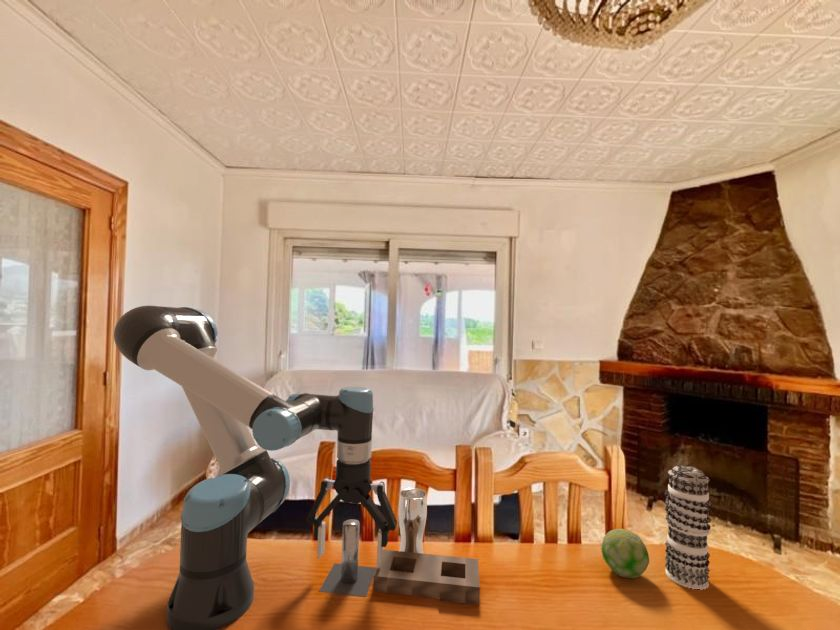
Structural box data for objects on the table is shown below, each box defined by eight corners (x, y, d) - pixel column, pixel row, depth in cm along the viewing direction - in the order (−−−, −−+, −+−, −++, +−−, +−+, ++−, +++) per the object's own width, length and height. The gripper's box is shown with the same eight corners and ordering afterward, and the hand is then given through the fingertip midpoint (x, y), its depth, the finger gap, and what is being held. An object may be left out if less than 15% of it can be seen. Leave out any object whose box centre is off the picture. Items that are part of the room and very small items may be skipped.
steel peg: (338, 583, 86) (340, 526, 86) (343, 573, 90) (345, 518, 90) (355, 585, 86) (357, 528, 86) (359, 574, 89) (361, 520, 89)
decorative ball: (621, 590, 87) (622, 544, 88) (591, 564, 97) (592, 522, 97) (659, 585, 90) (660, 540, 90) (626, 559, 99) (627, 519, 100)
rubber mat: (318, 593, 83) (318, 591, 83) (334, 564, 93) (334, 563, 93) (365, 598, 82) (365, 596, 82) (376, 569, 92) (376, 567, 92)
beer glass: (422, 565, 94) (424, 501, 94) (393, 561, 95) (395, 497, 96) (427, 549, 101) (429, 489, 101) (400, 545, 102) (402, 486, 103)
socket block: (372, 592, 84) (373, 575, 84) (382, 564, 94) (383, 549, 94) (479, 604, 81) (479, 587, 81) (477, 574, 91) (478, 559, 91)
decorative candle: (661, 580, 92) (663, 470, 92) (664, 561, 99) (666, 459, 100) (711, 597, 86) (713, 479, 87) (710, 575, 94) (712, 468, 95)
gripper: (293, 460, 86) (288, 561, 85) (406, 469, 83) (403, 573, 83) (306, 449, 93) (302, 542, 93) (411, 457, 91) (408, 553, 90)
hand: (350, 557), depth 88 cm, fingers open, 12 cm apart
